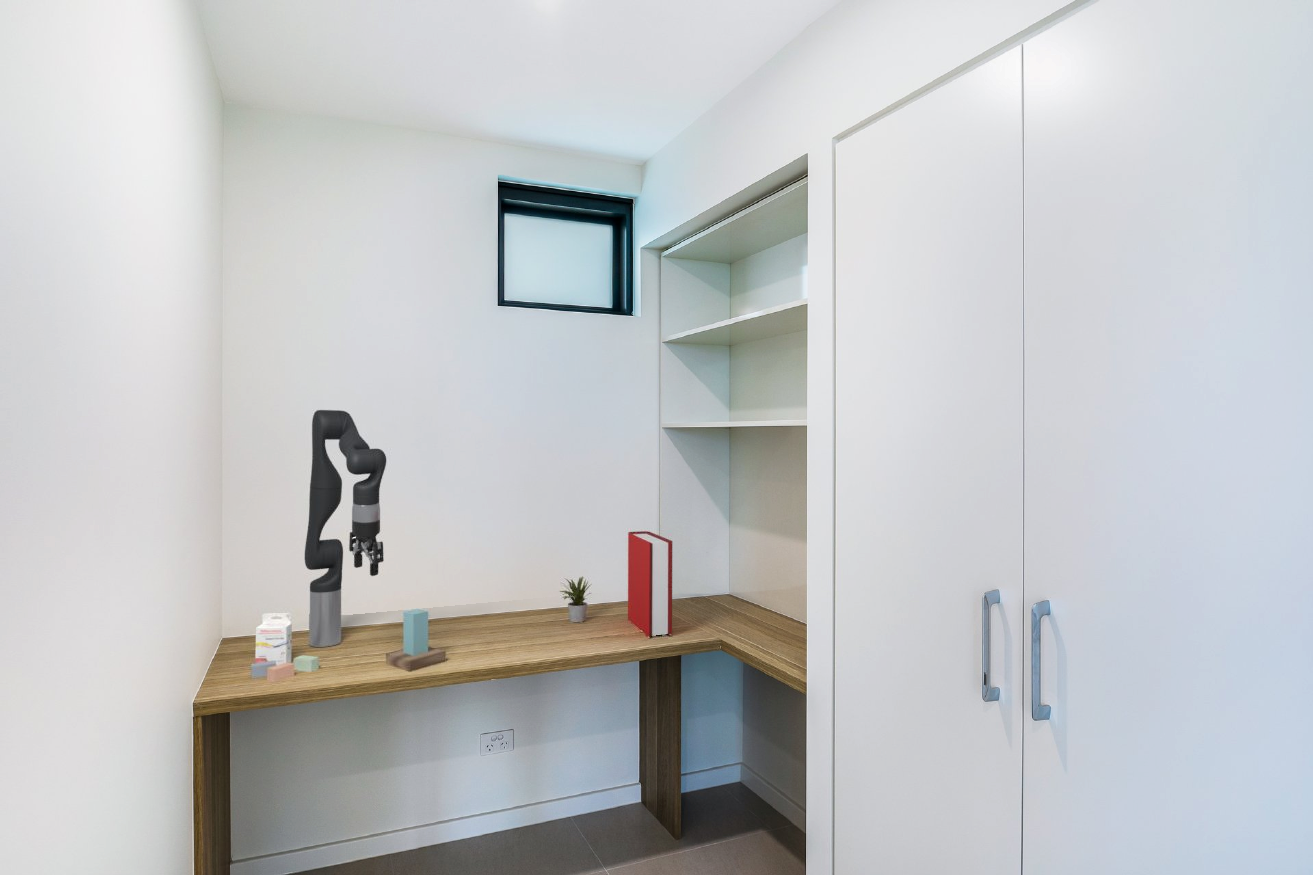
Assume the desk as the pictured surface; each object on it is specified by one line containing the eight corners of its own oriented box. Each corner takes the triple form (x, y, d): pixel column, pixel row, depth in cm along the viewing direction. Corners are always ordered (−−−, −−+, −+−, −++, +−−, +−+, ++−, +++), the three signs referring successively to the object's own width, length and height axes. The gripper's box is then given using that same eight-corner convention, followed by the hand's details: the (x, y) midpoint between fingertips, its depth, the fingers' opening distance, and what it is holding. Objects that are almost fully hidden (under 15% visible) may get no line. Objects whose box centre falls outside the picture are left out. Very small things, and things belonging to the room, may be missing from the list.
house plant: (560, 615, 275) (561, 571, 275) (597, 615, 275) (597, 571, 275) (554, 624, 261) (554, 578, 261) (592, 625, 261) (593, 579, 261)
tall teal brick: (403, 652, 216) (403, 611, 216) (418, 648, 220) (418, 608, 220) (413, 655, 213) (413, 614, 213) (428, 651, 217) (428, 611, 217)
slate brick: (251, 679, 202) (251, 666, 202) (251, 676, 204) (251, 663, 204) (276, 675, 205) (276, 663, 205) (275, 672, 207) (275, 660, 207)
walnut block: (385, 663, 216) (386, 653, 216) (421, 654, 225) (421, 644, 225) (410, 671, 208) (410, 660, 208) (445, 661, 218) (445, 651, 218)
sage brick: (293, 670, 209) (293, 658, 209) (301, 667, 212) (301, 655, 212) (311, 672, 208) (311, 659, 208) (318, 669, 211) (318, 656, 211)
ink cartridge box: (254, 668, 210) (254, 617, 210) (260, 663, 215) (261, 613, 215) (286, 667, 212) (286, 616, 212) (292, 662, 217) (292, 612, 217)
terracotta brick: (274, 682, 199) (274, 669, 199) (267, 680, 200) (267, 668, 200) (294, 676, 204) (294, 663, 204) (287, 674, 206) (287, 662, 206)
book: (672, 636, 246) (672, 541, 246) (649, 638, 244) (649, 541, 244) (647, 617, 272) (648, 531, 272) (626, 619, 270) (627, 531, 270)
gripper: (391, 521, 210) (391, 574, 213) (364, 509, 218) (364, 561, 221) (367, 526, 204) (367, 581, 207) (340, 513, 212) (340, 567, 215)
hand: (366, 571), depth 214 cm, fingers open, 8 cm apart
